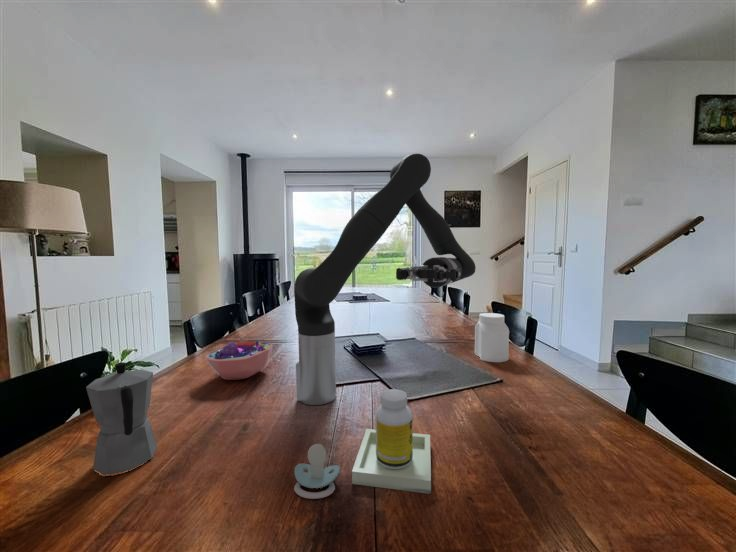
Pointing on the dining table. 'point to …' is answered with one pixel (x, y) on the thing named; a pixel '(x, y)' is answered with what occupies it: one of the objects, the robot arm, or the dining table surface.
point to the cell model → (239, 359)
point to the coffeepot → (122, 419)
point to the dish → (405, 479)
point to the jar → (492, 338)
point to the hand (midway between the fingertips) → (416, 275)
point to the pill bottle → (394, 430)
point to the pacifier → (315, 474)
